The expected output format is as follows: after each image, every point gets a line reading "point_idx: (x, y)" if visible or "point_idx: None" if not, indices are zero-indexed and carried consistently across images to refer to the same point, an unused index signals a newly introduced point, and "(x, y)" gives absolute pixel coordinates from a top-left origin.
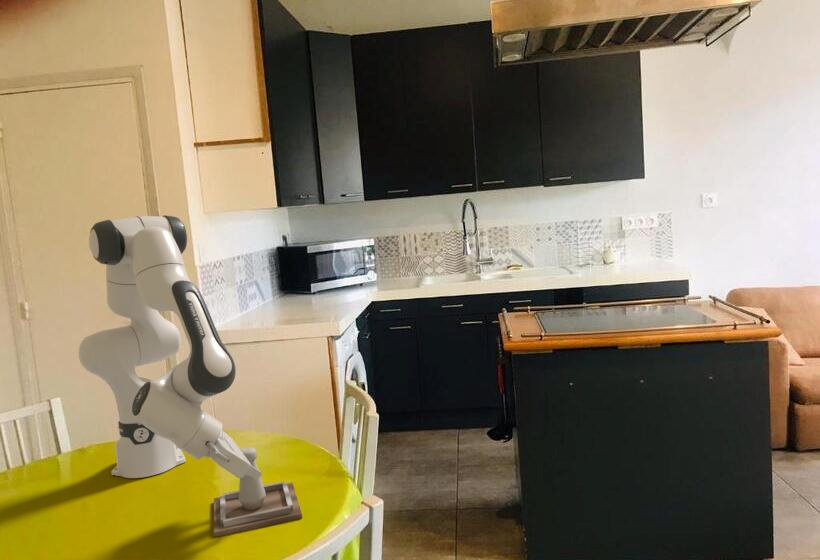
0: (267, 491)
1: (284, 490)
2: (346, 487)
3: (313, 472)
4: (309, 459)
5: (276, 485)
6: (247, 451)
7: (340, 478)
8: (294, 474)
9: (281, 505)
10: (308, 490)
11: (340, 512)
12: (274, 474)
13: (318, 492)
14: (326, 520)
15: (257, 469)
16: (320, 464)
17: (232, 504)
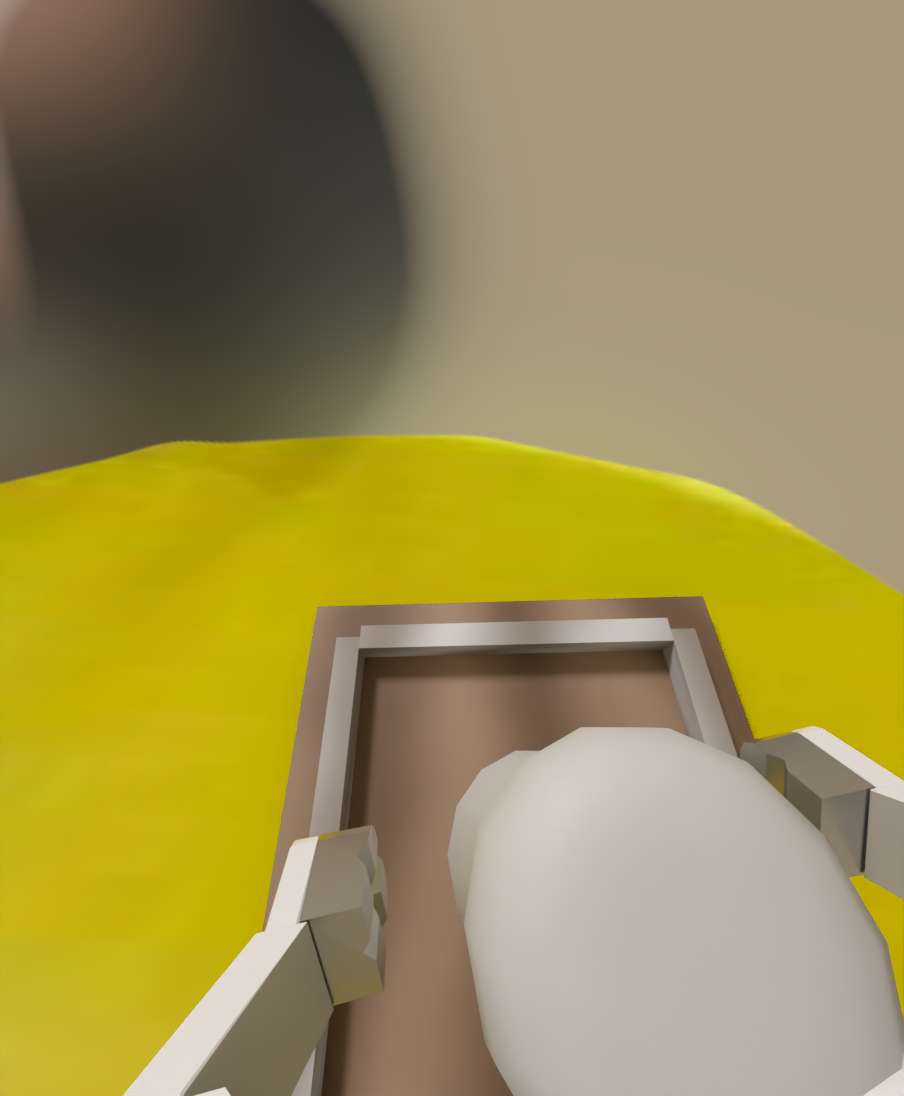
0: (355, 744)
1: (461, 643)
2: (458, 442)
3: (230, 524)
4: (71, 526)
5: (357, 682)
6: (834, 918)
7: (364, 450)
8: (185, 598)
9: (581, 679)
10: (409, 558)
11: (669, 479)
12: (96, 693)
13: (452, 526)
14: (730, 525)
15: (824, 764)
16: (169, 494)
17: (437, 1036)
